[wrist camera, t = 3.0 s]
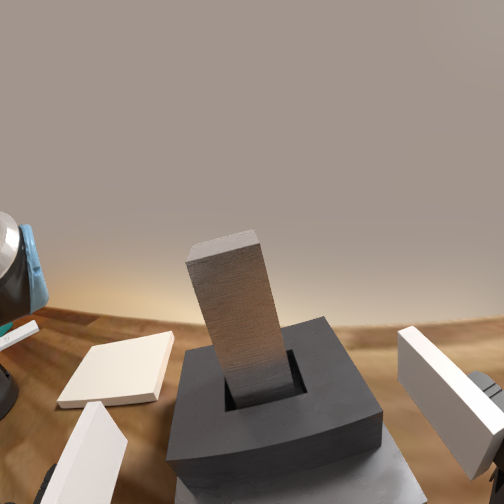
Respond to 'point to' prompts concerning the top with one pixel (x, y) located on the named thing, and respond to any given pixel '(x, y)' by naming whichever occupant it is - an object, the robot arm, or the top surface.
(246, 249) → the aluminium plug
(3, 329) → the digital multimeter
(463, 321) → the top surface
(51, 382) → the top surface
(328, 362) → the socket block
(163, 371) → the cream pad
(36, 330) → the external hard drive
